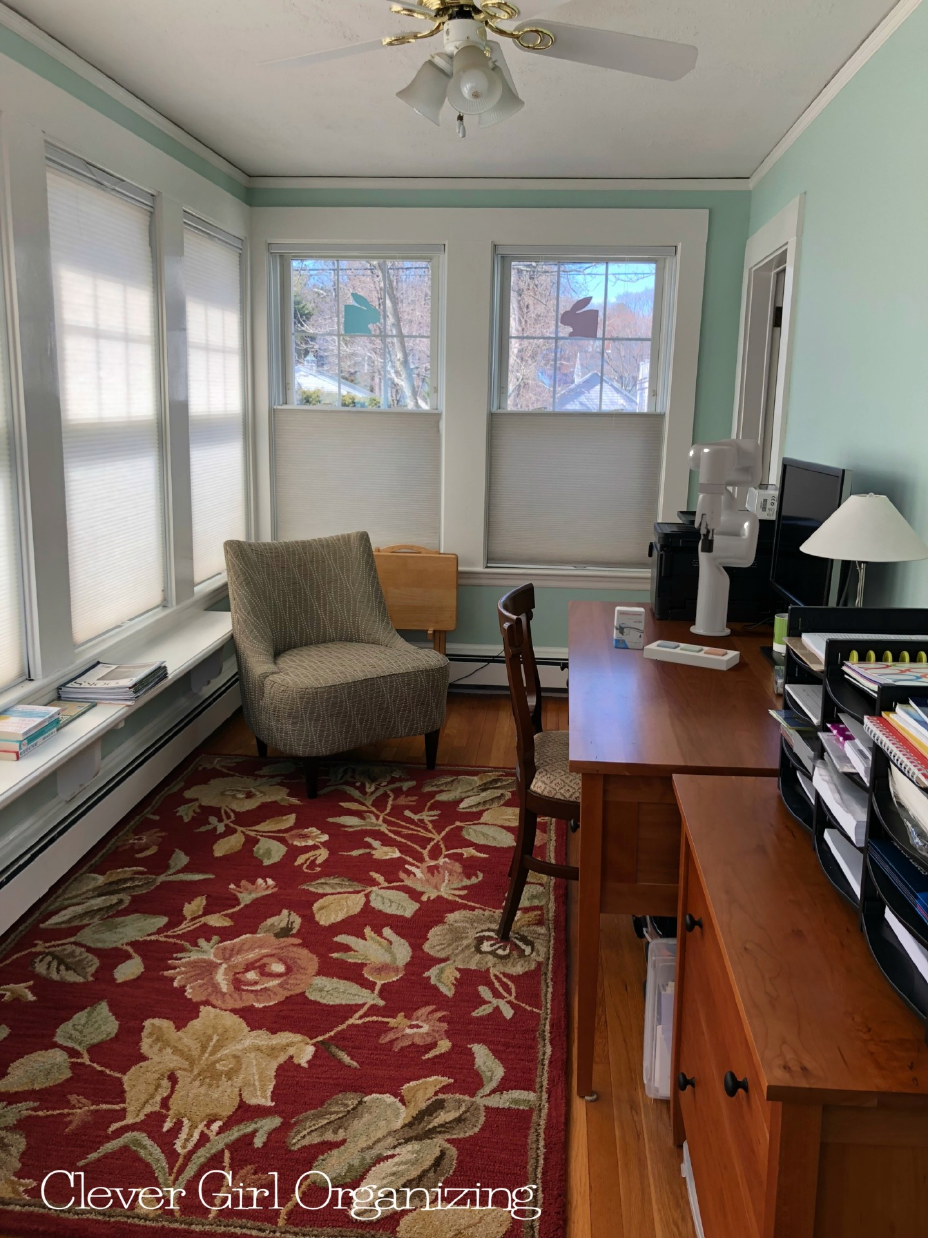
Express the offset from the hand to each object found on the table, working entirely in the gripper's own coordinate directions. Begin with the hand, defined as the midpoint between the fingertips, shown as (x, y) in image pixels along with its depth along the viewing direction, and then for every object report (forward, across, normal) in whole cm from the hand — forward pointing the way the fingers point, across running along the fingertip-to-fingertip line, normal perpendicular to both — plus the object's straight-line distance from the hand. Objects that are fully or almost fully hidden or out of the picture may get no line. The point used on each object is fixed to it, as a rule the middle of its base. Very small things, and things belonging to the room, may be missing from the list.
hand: (706, 552), depth 286 cm
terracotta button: (+28, +16, +10) cm, 34 cm away
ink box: (+29, +12, -18) cm, 36 cm away
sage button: (+28, +16, +3) cm, 33 cm away
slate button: (+28, +16, -4) cm, 33 cm away
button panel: (+29, +16, +3) cm, 33 cm away
